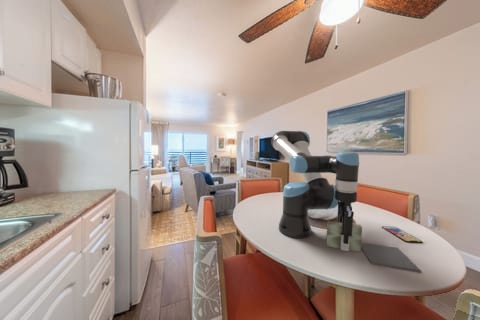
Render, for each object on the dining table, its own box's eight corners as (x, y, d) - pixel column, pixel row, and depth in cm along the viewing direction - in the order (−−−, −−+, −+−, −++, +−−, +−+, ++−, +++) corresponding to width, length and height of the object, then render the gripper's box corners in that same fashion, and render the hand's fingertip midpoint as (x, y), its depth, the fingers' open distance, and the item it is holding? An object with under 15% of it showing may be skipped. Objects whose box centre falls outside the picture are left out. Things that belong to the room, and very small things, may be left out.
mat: (371, 263, 62) (371, 262, 62) (357, 243, 76) (357, 241, 76) (421, 272, 58) (421, 270, 58) (397, 249, 72) (397, 247, 72)
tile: (327, 246, 73) (328, 222, 73) (326, 243, 75) (327, 220, 75) (360, 251, 70) (362, 226, 69) (358, 248, 72) (360, 224, 71)
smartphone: (395, 226, 91) (423, 241, 76) (395, 228, 91) (423, 244, 76) (380, 226, 92) (406, 241, 77) (380, 227, 92) (405, 243, 77)
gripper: (365, 197, 61) (361, 261, 63) (350, 186, 78) (347, 237, 80) (340, 195, 64) (337, 257, 65) (331, 185, 80) (328, 235, 82)
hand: (342, 246), depth 73 cm, fingers open, 4 cm apart
